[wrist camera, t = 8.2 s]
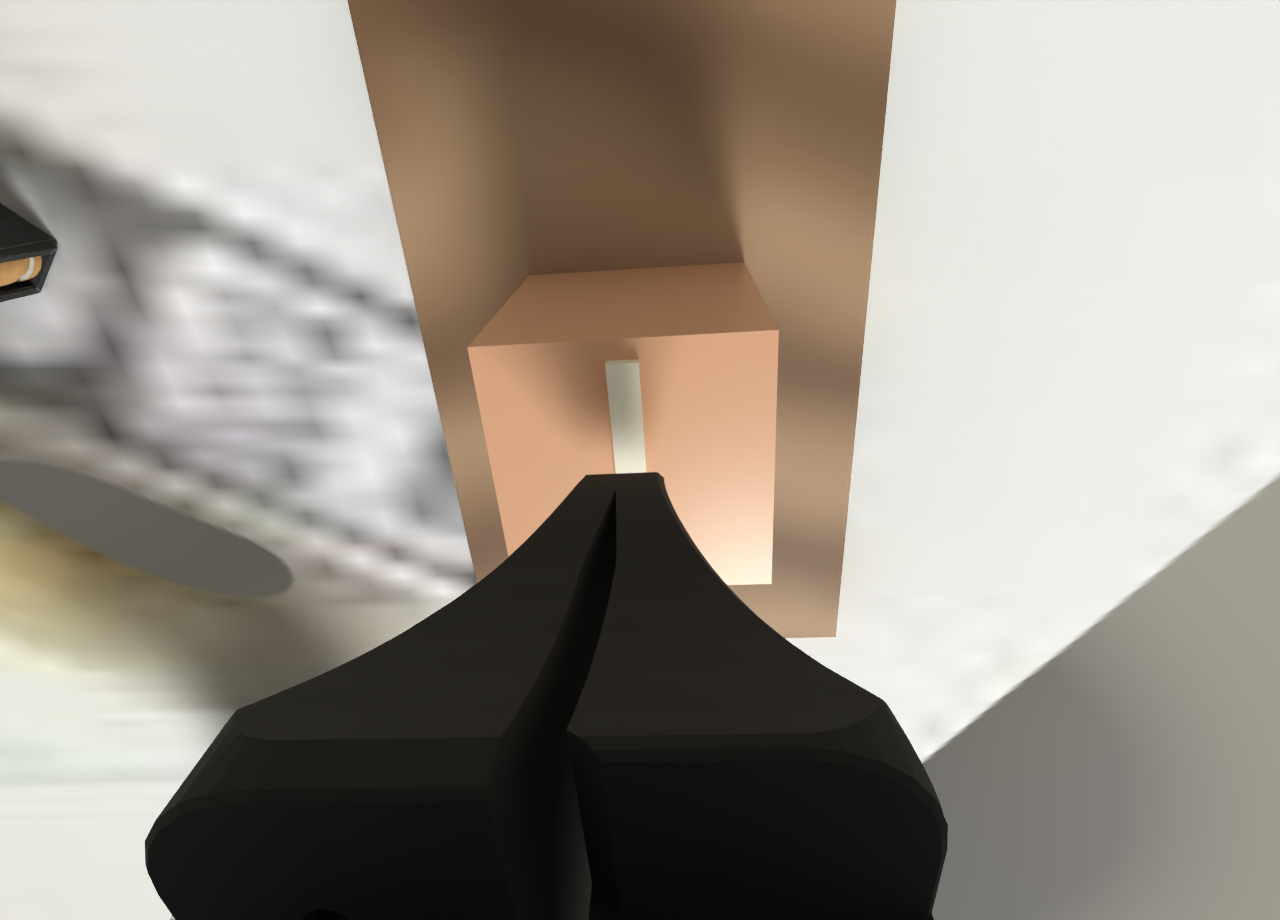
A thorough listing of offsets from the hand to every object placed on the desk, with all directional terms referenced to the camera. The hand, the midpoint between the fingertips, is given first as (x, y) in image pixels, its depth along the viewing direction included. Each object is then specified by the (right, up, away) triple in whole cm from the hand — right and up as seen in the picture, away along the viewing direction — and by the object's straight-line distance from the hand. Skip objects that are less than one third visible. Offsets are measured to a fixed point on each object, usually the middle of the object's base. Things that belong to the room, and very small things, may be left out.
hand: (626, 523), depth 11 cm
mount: (0, +4, +8) cm, 9 cm away
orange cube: (0, +4, +7) cm, 8 cm away
